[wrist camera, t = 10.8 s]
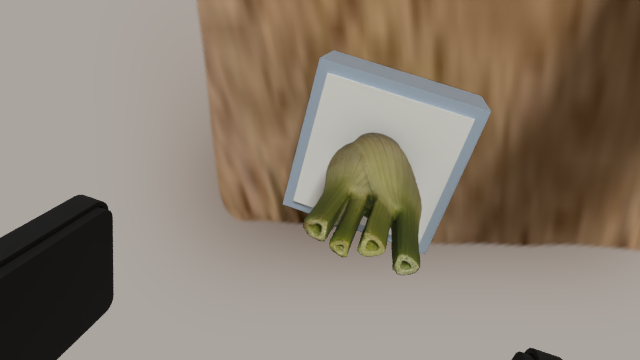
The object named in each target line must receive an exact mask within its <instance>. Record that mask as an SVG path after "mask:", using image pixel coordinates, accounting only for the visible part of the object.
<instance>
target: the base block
mask: <svg viewBox="0 0 640 360" xmlns="http://www.w3.org/2000/svg"><path fill="white" fill-rule="evenodd" d="M490 113H491V110H490V109H489V107H488V106H487V104H486V102H485V101H484V99H483V98H482V96H480V95H476V94H473V93H470V92H467V91H463V90H460V89H457V88H454V87H451V86H447V85H444V84H441V83H438V82H434V81H431V80H428V79H425V78H422V77H418V76H415V75H412V74H409V73H405V72H402V71H399V70H396V69H393V68H389V67H386V66H383V65H380V64H376V63H373V62H370V61H367V60H364V59H360V58H357V57H354V56H351V55H347V54H344V53H341V52H338V51H335V50H334V51H332V52H330V53H328V54H326V55H324V56H322V57H320V60H319V64H318V68H317V72H316V75H315V79H314V83H313V87H312V91H311V95H310V99H309V103H308V107H307V111H306V115H305V119H304V123H303V126H302V130H301V134H300V138H299V142H298V146H297V150H296V154H295V158H294V162H293V166H292V170H291V174H290V177H289V181H288V185H287V189H286V193H285V197H284V201H283V204H284V205H286V206H289V207H292V208H295V209H298V210H301V211H303V212H306V213H310V212H311V211H312V209H313V208H314V206H315V205H316V204H317V202H318V201H319V199H320V197H321V196H322V194H323V191H324V187H325V181H326V173H327V169H328V165H329V163H330V161H331V159H332V157H333V156H334V155H335V153H336V152H337V151H338V150H339V149H341V148H342V147H343V146H344V145H346V144H349V143H352V142H354V141H355V140H356V139H357V138H358V137H359V136H361V135H363V134H366V133H380V134H384V135H386V136H388V137H390V138H392V139H393V140H395V141H396V142H397V143H398V144H399V146H400V148H401V149H402V150H403V152H404V153H405V155H406V157H407V159H408V161H409V164H410V165H411V167H412V170H413V173H414V176H415V179H416V183H417V187H418V189H419V194H420V197H421V205H422V211H421V218H420V222H419V233H418V242H419V252H420V253H423V254H425V253H426V251H427V249H428V247H429V245H430V243H431V240H432V238H433V236H434V234H435V232H436V230H437V227H438V225H439V223H440V221H441V219H442V217H443V214H444V212H445V210H446V208H447V206H448V204H449V202H450V199H451V197H452V195H453V193H454V191H455V189H456V186H457V184H458V182H459V180H460V178H461V176H462V173H463V171H464V169H465V167H466V165H467V163H468V161H469V158H470V156H471V154H472V152H473V150H474V148H475V145H476V143H477V141H478V139H479V137H480V135H481V132H482V130H483V128H484V126H485V124H486V122H487V120H488V117H489V115H490ZM366 221H367V218H366V217H365V216H363V218H362V220H361V222H360V225H359V227H358V229H357V231H360V232H363V229H364V228H365V224H366ZM391 234H392V233H391V228H390V230H389V236H388V240H387V241H389V242H391V243H392V236H391Z"/></svg>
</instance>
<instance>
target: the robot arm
mask: <svg viewBox="0 0 640 360" xmlns="http://www.w3.org/2000/svg"><path fill="white" fill-rule="evenodd" d="M112 224H113V220H112V213H111V211H109V210H108V206H107V204H106V203H104V202H102V201H99V200H96V199H94V198H91V197H87V196H85V195H77V196H74V197H73V198H71V199H69V200H67V201H66V202H64V203H62V204H60V205H58V206H57V207H55V208H53V209H51V210H50V211H48V212H46V213H44V214H42V215H41V216H39V217H37V218H35V219H33V220H31V221H30V222H28V223H26V224H24V225H23V226H21V227H19V228H17V229H15V230H14V231H12V232H10V233H8V234H7V235H5V236H3V237H1V238H0V360H57V359H58V358H59V357H60V356H61V355H62V354H63V353H64V352H65V351H66V350H67V349H68V348H69V347H70V346H71V345H72V344H73V343H74V342H75V341H76V340H78V338H80V336H82V335H83V334H84V333H85V332H86V331H87V330H88V329H89V328H90V327H91V326H92V325H93V324H94V323H95V322H96V321H97V320H98V319H99V318H100V317H101V316H102V315H103V314H104V313H105V312H106V311H107V310H108V309H109V307H110V305H111V303H112V300H113V225H112ZM512 360H562V359H561V358H560V357H557V356H554V355H551V354H548V353H545V352H542V351H539V350H536V349H533V348H529V349H528V350H526V352H525V353H522V352H517V353H516V354H515V356H514V357H513V359H512Z"/></svg>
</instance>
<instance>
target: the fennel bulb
mask: <svg viewBox="0 0 640 360" xmlns="http://www.w3.org/2000/svg"><path fill="white" fill-rule="evenodd" d="M421 211H422V205H421V197H420V194H419V189H418V187H417V183H416V179H415V176H414V173H413V170H412V167H411V165H410V164H409V161H408V159H407V157H406V155H405V153H404V152H403V150H402V149H401V148H400V146H399V144H398V143H397V142H396V141H395V140H393V139H392V138H390V137H388V136H386V135H384V134H380V133H366V134H363V135H361V136H359V137H358V138H357V139H356V140H355V141H354V142H352V143H349V144H346V145H344V146H343V147H342V148H341V149H339V150H338V151H337V152H336V153H335V155H334V156H333V157H332V159H331V161H330V163H329V165H328V169H327V173H326V181H325V187H324V191H323V194H322V196H321V197H320V199H319V201H318V202H317V204H316V205H315V206H314V208H313V209H312V211H311V212H310V213H309V215H308V216H307V217H306V218H305V219H304V224H303V225H304V226H303V228H304V229H305V231H306V232H307V233H308V235H309V236H311V237H313V238H315V239H317V240H318V241H325V239H326V237H328V235H329V233H330V231H331V230H332V229H333V227H334V226H337V228H336V230H335V232H334V233H333V236H332V238H331V240H330V248H331V249H332V251H333V252H335V253H336V254H338V255H339V256H341V257H347V254H348V251H349V248H350V246H351V243H352V241H353V238H354V236H355V233H356V231H357V229H358V227H359V225H360V222H361V220H362V218H363V216H365V217H366V218H367V221H366V224H365V228H364V229H363V232H362V235H361V239H360V242H359V245H358V252H359V253H360V254H361V255H363V256H366V257H370V256H377V255H380V254H383V253H384V251H385V249H386V245H387V240H388V236H389V230H390V228H391V233H392V234H391V236H392V259H393V270H395V271H396V273H397V274H399V275H406V274H408V275H409V274H413V273H415V272H416V271H417V270H418V269H419V268H420V255H419V242H418V233H419V222H420V218H421Z"/></svg>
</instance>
